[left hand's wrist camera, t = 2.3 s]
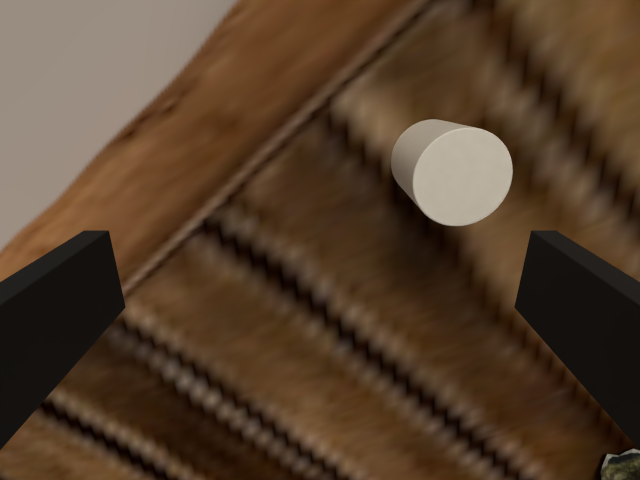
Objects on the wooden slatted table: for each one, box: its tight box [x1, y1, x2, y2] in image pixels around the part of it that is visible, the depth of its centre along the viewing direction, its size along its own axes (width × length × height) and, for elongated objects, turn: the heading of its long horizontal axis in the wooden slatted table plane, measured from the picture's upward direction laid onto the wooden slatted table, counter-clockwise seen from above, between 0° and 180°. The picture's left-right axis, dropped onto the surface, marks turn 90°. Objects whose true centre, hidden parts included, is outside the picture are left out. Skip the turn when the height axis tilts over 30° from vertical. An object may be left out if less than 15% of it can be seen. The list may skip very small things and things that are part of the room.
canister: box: [391, 119, 513, 226], centre depth 17 cm, size 4×4×5 cm
